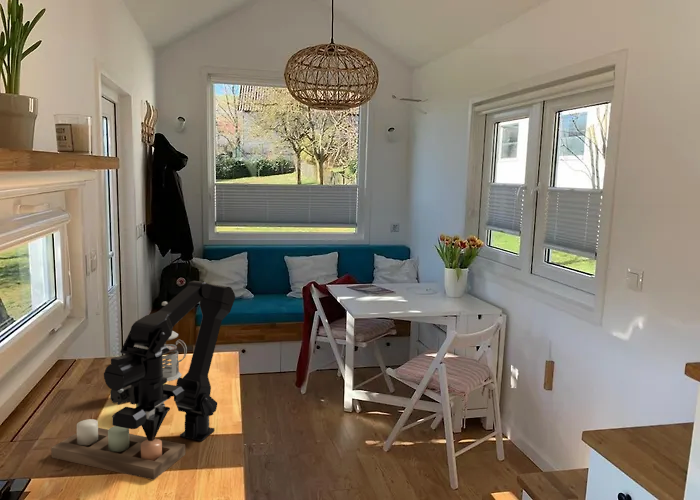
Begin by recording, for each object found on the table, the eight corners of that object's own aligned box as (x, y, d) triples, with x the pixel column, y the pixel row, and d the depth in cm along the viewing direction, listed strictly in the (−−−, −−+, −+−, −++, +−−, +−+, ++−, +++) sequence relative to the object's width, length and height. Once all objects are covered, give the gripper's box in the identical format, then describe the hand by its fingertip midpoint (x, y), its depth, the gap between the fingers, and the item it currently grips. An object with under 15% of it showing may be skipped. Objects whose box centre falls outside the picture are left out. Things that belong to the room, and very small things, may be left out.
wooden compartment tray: (89, 435, 143) (89, 425, 143) (185, 454, 135) (185, 444, 134) (51, 457, 132) (51, 447, 131) (153, 480, 123) (153, 469, 123)
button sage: (117, 441, 136) (117, 423, 135) (133, 444, 134) (133, 426, 134) (104, 449, 131) (103, 432, 131) (120, 453, 130) (120, 435, 129)
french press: (157, 370, 189) (155, 297, 186) (191, 371, 189) (190, 298, 186) (145, 380, 180) (143, 304, 176) (181, 382, 179) (180, 305, 176)
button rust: (149, 454, 133) (149, 437, 133) (166, 458, 132) (165, 440, 131) (136, 464, 129) (136, 446, 128) (153, 468, 128) (153, 449, 127)
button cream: (87, 434, 138) (86, 418, 138) (102, 438, 137) (101, 421, 136) (72, 443, 134) (72, 425, 133) (88, 446, 133) (88, 429, 132)
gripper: (145, 358, 139) (147, 418, 141) (90, 385, 121) (92, 453, 123) (185, 364, 135) (185, 425, 138) (133, 392, 118) (135, 462, 120)
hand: (151, 440), depth 130 cm, fingers closed
